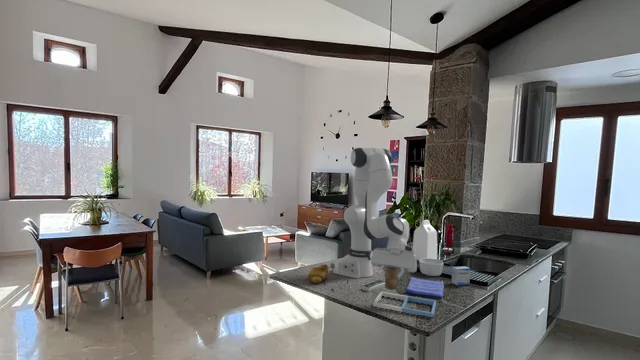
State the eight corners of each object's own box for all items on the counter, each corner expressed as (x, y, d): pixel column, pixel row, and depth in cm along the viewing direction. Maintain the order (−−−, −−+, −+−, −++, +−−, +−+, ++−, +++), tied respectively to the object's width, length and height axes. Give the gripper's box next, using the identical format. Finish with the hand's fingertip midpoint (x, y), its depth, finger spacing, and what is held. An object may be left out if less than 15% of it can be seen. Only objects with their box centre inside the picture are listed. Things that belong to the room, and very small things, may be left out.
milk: (422, 255, 233) (423, 218, 232) (437, 259, 224) (438, 220, 223) (411, 258, 225) (412, 219, 224) (427, 262, 217) (428, 222, 216)
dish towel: (404, 295, 161) (404, 289, 161) (410, 280, 183) (410, 274, 183) (442, 300, 155) (442, 294, 154) (444, 284, 177) (444, 279, 176)
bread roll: (321, 286, 169) (322, 270, 169) (303, 283, 172) (304, 268, 172) (329, 278, 181) (329, 263, 181) (312, 276, 185) (312, 261, 184)
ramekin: (446, 277, 188) (446, 264, 187) (422, 276, 188) (423, 264, 188) (438, 270, 201) (438, 258, 201) (416, 269, 201) (416, 257, 201)
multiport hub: (361, 290, 165) (361, 285, 165) (379, 283, 175) (379, 279, 175) (369, 293, 162) (369, 288, 162) (386, 286, 172) (386, 281, 172)
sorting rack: (372, 307, 144) (373, 302, 144) (380, 295, 158) (381, 291, 158) (432, 318, 135) (432, 313, 135) (435, 305, 148) (436, 300, 148)
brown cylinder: (383, 288, 147) (384, 270, 147) (386, 284, 152) (387, 267, 152) (395, 290, 145) (396, 272, 145) (397, 286, 150) (398, 268, 150)
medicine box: (456, 285, 174) (457, 269, 173) (451, 282, 178) (451, 266, 178) (469, 284, 176) (470, 268, 176) (464, 281, 180) (464, 265, 180)
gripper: (373, 243, 158) (366, 269, 150) (418, 249, 150) (414, 277, 142) (375, 250, 163) (368, 276, 154) (419, 256, 155) (415, 284, 146)
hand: (390, 277), depth 148 cm, fingers closed on brown cylinder, 5 cm apart
